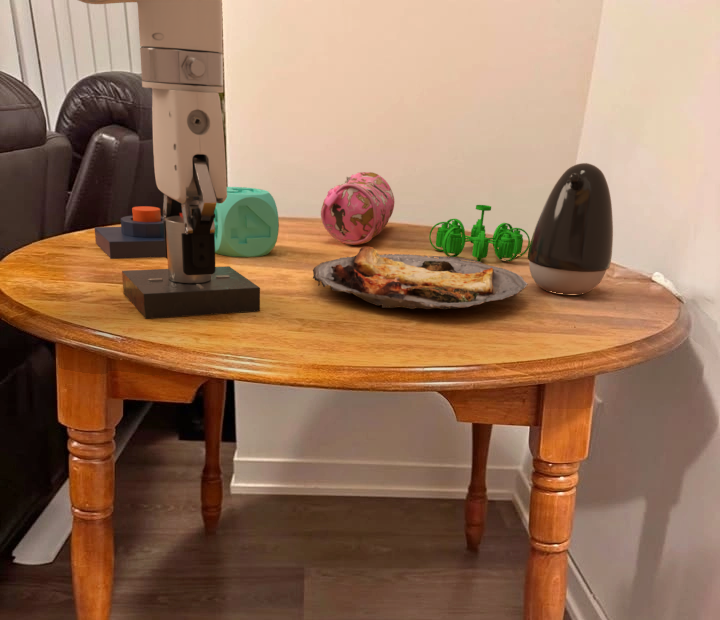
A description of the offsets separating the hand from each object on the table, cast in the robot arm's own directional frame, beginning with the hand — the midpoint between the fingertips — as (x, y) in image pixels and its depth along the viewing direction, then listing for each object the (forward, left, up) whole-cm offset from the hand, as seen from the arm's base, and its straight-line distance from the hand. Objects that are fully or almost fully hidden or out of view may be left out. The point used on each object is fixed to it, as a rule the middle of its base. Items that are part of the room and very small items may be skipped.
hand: (189, 264), depth 81 cm
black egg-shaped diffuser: (+47, -5, -4) cm, 47 cm away
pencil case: (+37, +33, -4) cm, 50 cm away
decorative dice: (+14, +24, -4) cm, 28 cm away
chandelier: (+49, +17, -4) cm, 52 cm away
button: (+2, +27, 0) cm, 27 cm away
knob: (0, 0, -1) cm, 1 cm away
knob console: (0, 0, -4) cm, 4 cm away
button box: (+2, +27, -4) cm, 27 cm away
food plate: (+27, -2, -4) cm, 27 cm away
